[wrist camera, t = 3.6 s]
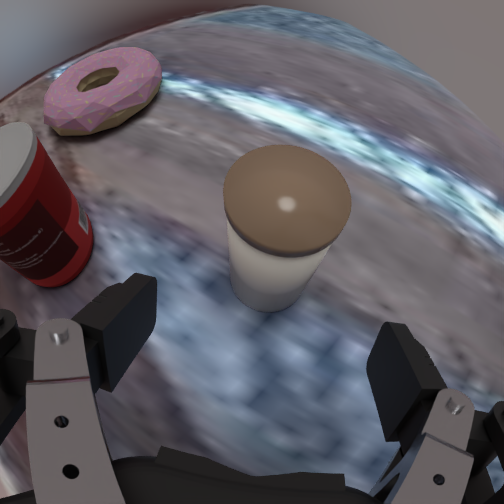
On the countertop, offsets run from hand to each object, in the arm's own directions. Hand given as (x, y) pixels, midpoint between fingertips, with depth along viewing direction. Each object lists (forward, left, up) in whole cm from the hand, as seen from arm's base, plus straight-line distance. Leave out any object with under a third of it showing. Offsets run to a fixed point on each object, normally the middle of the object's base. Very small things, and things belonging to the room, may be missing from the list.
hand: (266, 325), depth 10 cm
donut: (-5, -33, -11) cm, 35 cm away
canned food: (+7, -17, -10) cm, 21 cm away
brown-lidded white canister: (-5, -4, -10) cm, 12 cm away
